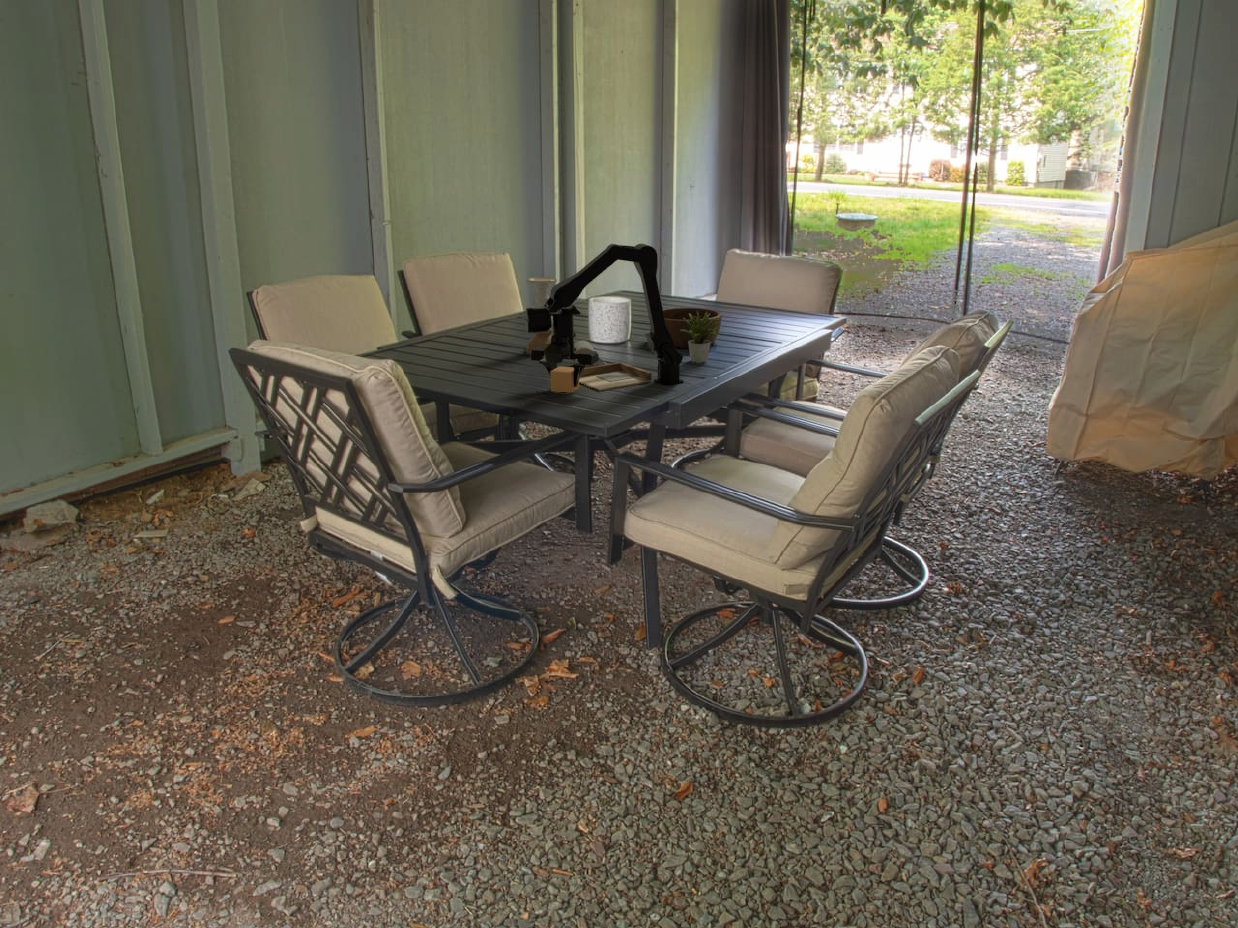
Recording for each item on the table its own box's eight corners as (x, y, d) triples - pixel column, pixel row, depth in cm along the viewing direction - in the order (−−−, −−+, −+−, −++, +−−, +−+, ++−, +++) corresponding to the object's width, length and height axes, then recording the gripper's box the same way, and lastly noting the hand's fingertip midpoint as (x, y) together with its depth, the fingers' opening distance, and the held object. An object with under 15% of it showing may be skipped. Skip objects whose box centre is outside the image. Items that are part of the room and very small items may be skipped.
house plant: (720, 368, 268) (721, 315, 263) (675, 366, 271) (676, 314, 266) (724, 357, 282) (725, 307, 276) (681, 356, 284) (682, 306, 279)
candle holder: (559, 354, 289) (556, 281, 281) (526, 354, 289) (522, 281, 281) (561, 346, 299) (559, 276, 291) (529, 347, 299) (526, 276, 291)
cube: (579, 388, 248) (578, 367, 246) (570, 393, 243) (569, 372, 241) (560, 386, 250) (559, 366, 248) (551, 392, 245) (550, 371, 243)
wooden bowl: (732, 340, 308) (733, 310, 304) (700, 353, 288) (701, 322, 284) (670, 333, 320) (671, 305, 317) (635, 345, 300) (635, 316, 297)
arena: (651, 381, 254) (651, 372, 253) (599, 391, 244) (599, 381, 243) (620, 371, 266) (620, 362, 265) (570, 379, 257) (569, 370, 256)
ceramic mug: (573, 371, 267) (573, 346, 264) (569, 364, 275) (569, 340, 272) (607, 369, 269) (607, 345, 266) (603, 363, 276) (603, 339, 274)
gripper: (519, 334, 237) (522, 389, 242) (582, 338, 230) (584, 395, 236) (537, 326, 246) (540, 380, 252) (598, 330, 240) (599, 385, 245)
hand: (565, 385), depth 246 cm, fingers open, 6 cm apart
